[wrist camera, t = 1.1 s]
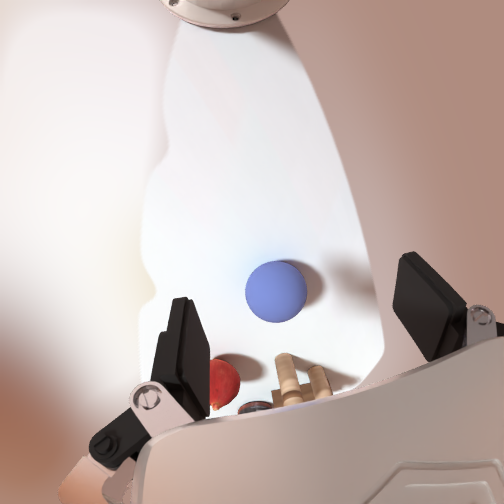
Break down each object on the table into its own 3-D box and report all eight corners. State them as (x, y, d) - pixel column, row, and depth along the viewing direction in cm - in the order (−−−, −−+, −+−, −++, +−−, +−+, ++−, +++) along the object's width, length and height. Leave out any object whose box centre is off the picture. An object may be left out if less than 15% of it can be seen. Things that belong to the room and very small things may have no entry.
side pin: (307, 367, 39) (322, 418, 31) (323, 363, 39) (340, 413, 31) (307, 377, 40) (321, 426, 32) (323, 373, 40) (339, 421, 32)
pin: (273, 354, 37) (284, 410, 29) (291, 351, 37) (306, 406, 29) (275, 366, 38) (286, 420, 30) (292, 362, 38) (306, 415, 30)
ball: (238, 256, 29) (242, 291, 24) (297, 245, 29) (312, 277, 24) (248, 302, 32) (253, 340, 27) (300, 292, 32) (314, 328, 27)
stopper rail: (271, 390, 41) (274, 411, 37) (327, 378, 41) (334, 398, 38) (272, 397, 42) (276, 417, 38) (327, 385, 42) (333, 404, 38)
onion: (246, 354, 36) (252, 404, 29) (225, 377, 38) (228, 424, 31) (206, 340, 34) (205, 392, 27) (188, 365, 36) (184, 414, 29)
